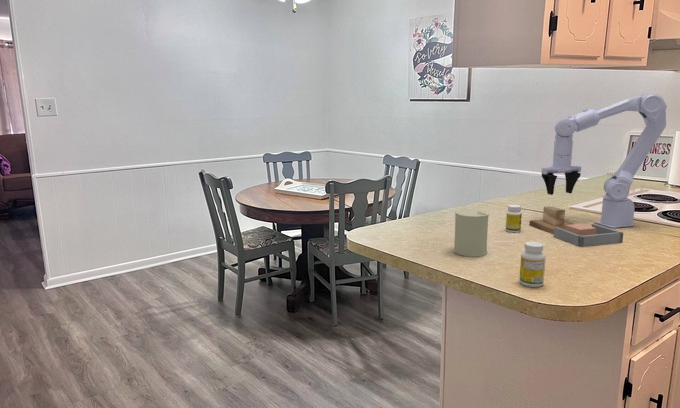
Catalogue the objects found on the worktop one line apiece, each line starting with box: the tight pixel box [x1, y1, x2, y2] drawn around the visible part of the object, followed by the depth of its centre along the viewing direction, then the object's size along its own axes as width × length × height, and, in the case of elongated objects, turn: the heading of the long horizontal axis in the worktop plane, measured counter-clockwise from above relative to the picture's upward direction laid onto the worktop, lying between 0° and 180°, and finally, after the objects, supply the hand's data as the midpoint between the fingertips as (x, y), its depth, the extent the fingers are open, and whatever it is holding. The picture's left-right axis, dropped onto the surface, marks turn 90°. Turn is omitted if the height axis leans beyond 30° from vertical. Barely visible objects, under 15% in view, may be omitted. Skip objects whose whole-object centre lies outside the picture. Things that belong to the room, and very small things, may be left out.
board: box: [528, 219, 574, 235], centre depth 163 cm, size 11×14×2 cm
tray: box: [553, 223, 624, 248], centre depth 150 cm, size 15×11×3 cm
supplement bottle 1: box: [505, 204, 523, 233], centre depth 161 cm, size 5×5×8 cm
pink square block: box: [566, 223, 596, 236], centre depth 153 cm, size 6×6×3 cm
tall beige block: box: [542, 205, 566, 225], centre depth 164 cm, size 4×6×5 cm, turn 15°
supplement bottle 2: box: [519, 241, 546, 288], centre depth 115 cm, size 5×5×10 cm
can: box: [453, 208, 490, 258], centre depth 139 cm, size 9×9×12 cm
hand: (559, 193), depth 171 cm, fingers open, 7 cm apart
